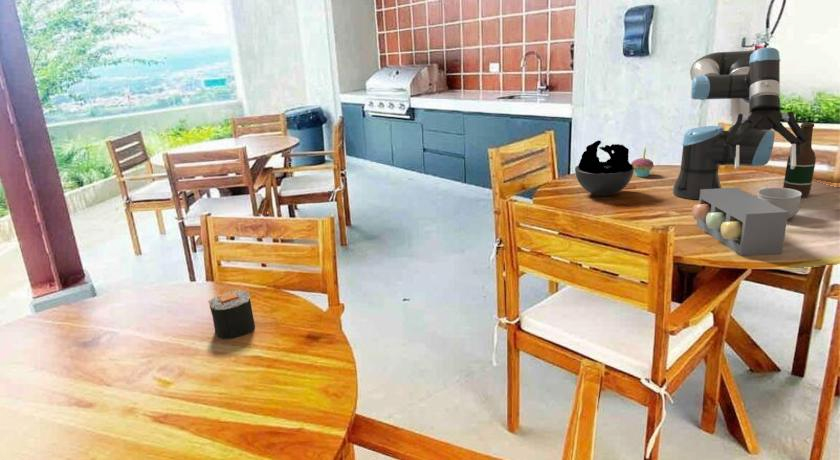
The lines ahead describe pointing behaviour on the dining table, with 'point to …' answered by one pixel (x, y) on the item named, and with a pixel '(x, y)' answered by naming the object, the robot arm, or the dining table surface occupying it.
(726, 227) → the ochre button
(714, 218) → the sage button
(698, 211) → the terracotta button
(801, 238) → the dining table surface
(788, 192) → the teacup
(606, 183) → the bowl of black rocks
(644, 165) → the cupcake
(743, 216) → the console
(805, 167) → the beer bottle
